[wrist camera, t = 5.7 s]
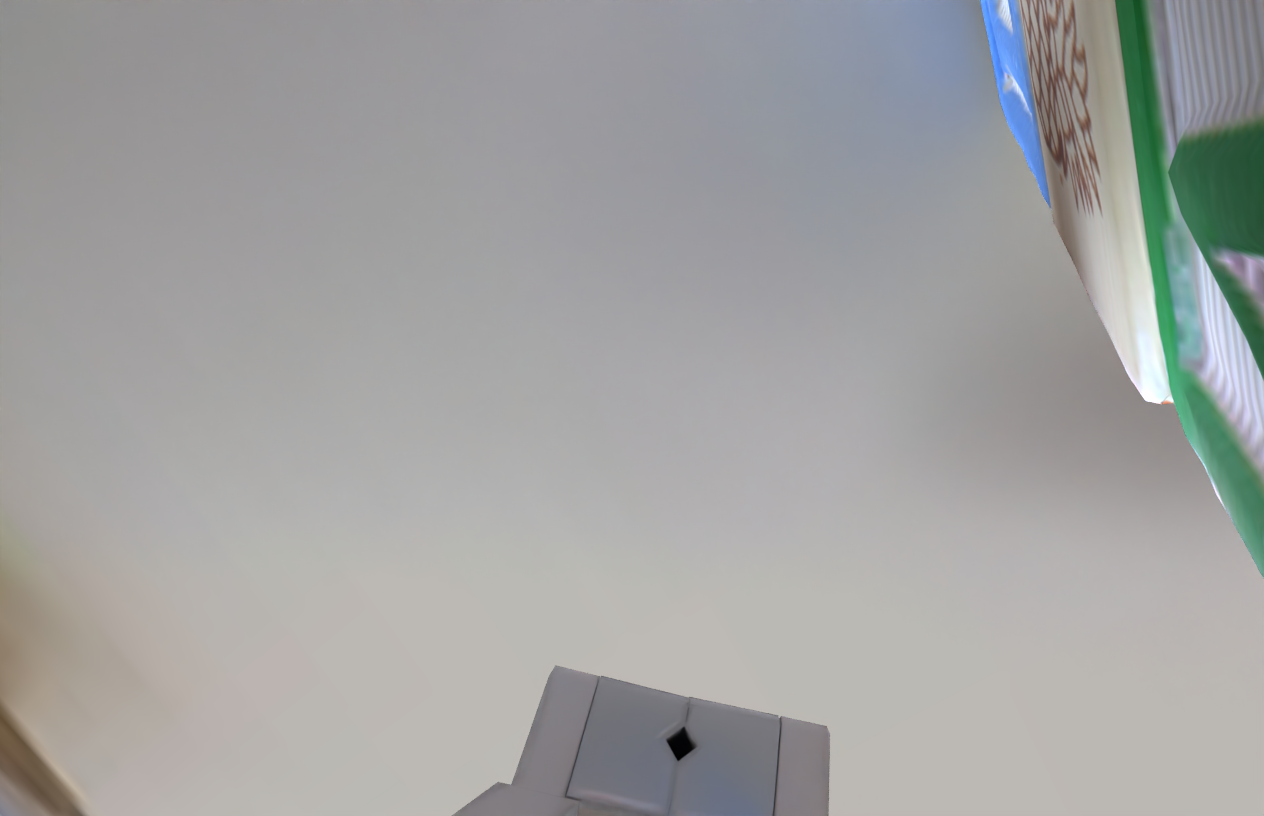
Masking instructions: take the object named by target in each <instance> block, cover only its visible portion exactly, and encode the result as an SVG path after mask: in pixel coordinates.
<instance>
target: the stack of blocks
mask: <svg viewBox="0 0 1264 816" xmlns="http://www.w3.org/2000/svg"><path fill="white" fill-rule="evenodd" d="M980 1H981V6H982V11H983V16H984V21H985V26H986V31H987V36H988V41H989V46H990V51H991V56H992V62H993V68H994V73H995V79H996V84H997V89H998V93H999V98H1000V103H1001V106H1002V109H1003V112H1004V115H1005V117H1006V120H1007V123H1008V126H1009V128H1010V129H1011V131H1012V133H1013V135H1014V137H1015V139H1016V140H1017V142H1018V144H1019V145H1020V147H1021V148H1022V150H1023V152H1024V155H1025V158H1026V161H1027V164H1028V166H1029V168H1030V170H1031V171H1032V173H1033V174H1034V176H1035V177H1036V180H1037V182H1038V185H1039V188H1040V190H1041V193H1042V195H1043V197H1044V199H1045V200H1046V202H1047V204H1048V205H1049V207H1050V208H1051V210H1052V217H1053V222H1054V224H1055V226H1056V228H1057V230H1058V232H1059V234H1060V236H1061V238H1062V240H1063V242H1064V244H1065V246H1066V248H1067V250H1068V252H1069V254H1070V256H1071V258H1072V260H1073V262H1074V265H1075V267H1076V269H1077V271H1078V274H1079V276H1080V278H1081V280H1082V283H1083V285H1084V287H1085V289H1086V291H1087V294H1088V296H1089V298H1090V300H1091V302H1092V304H1093V305H1094V307H1095V309H1096V311H1097V313H1098V315H1099V316H1100V318H1101V320H1102V322H1103V324H1104V326H1105V327H1106V330H1107V332H1108V334H1109V336H1110V338H1111V340H1112V342H1113V344H1114V346H1115V349H1116V351H1117V353H1118V355H1119V357H1120V359H1121V361H1122V363H1123V365H1124V368H1125V370H1126V372H1127V374H1128V376H1129V377H1130V379H1131V380H1132V382H1133V383H1134V385H1135V386H1136V388H1137V389H1138V391H1139V392H1140V393H1141V395H1142V396H1143V398H1144V399H1145V401H1149V402H1154V403H1158V404H1170V403H1174V404H1175V407H1176V410H1177V413H1178V415H1179V418H1180V421H1181V424H1182V427H1183V430H1184V433H1185V435H1186V437H1187V439H1188V440H1189V442H1190V444H1191V445H1192V447H1193V449H1194V450H1195V452H1196V453H1197V455H1198V457H1199V458H1200V460H1201V462H1202V463H1203V465H1204V467H1205V469H1206V471H1207V474H1208V476H1209V478H1210V481H1211V483H1212V485H1213V488H1214V490H1215V492H1216V495H1217V496H1218V498H1219V500H1220V501H1221V503H1222V505H1223V507H1224V508H1225V510H1226V512H1227V514H1228V515H1229V517H1230V519H1231V521H1232V522H1233V524H1234V526H1235V527H1236V529H1237V531H1238V533H1239V534H1240V536H1241V538H1242V540H1243V541H1244V543H1245V545H1246V547H1247V548H1248V550H1249V552H1250V554H1251V556H1252V558H1253V560H1254V562H1255V563H1256V565H1257V567H1258V569H1259V571H1260V573H1261V575H1262V577H1263V578H1264V0H980Z"/></svg>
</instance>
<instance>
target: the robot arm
mask: <svg viewBox="0 0 1264 816" xmlns="http://www.w3.org/2000/svg"><path fill="white" fill-rule="evenodd" d="M829 760H830V733H829V731H828V728H827V726H824V725H819V724H814V723H810V722H805V721H801V720H796V719H791V718H787V717H782V716H781V717H780V718H779V716H778V715H773V714H769V713H764V712H759V711H754V710H750V709H745V708H740V707H736V706H731V705H726V704H721V703H717V702H712V701H707V700H702V699H698V698H693V697H689V698H688V697H684V696H680V695H676V694H672V693H668V692H664V691H660V690H656V689H652V688H648V687H644V686H640V685H636V684H632V683H628V682H624V681H620V680H616V679H612V678H608V677H604V676H601V678H600V676H597V675H593V674H589V673H584V672H580V671H576V670H572V669H568V668H564V667H560V666H555V667H554V669H553V671H552V672H551V674H550V675H549V677H548V680H547V683H546V686H545V689H544V692H543V695H542V698H541V700H540V703H539V706H538V709H537V712H536V715H535V718H534V721H533V724H532V726H531V729H530V732H529V735H528V738H527V741H526V744H525V747H524V750H523V752H522V755H521V758H520V761H519V764H518V767H517V770H516V773H515V776H514V778H513V781H512V784H511V785H510V784H505V783H500V782H497V783H496V784H494V785H493V786H492V787H490V788H489V789H488V790H486V791H485V792H484V793H482V794H481V795H479V796H478V797H477V798H475V799H474V800H473V801H471V802H470V803H468V804H467V805H466V806H464V807H463V808H462V809H460V810H459V811H458V812H456V813H455V814H453V815H452V816H828V811H829Z"/></svg>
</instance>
